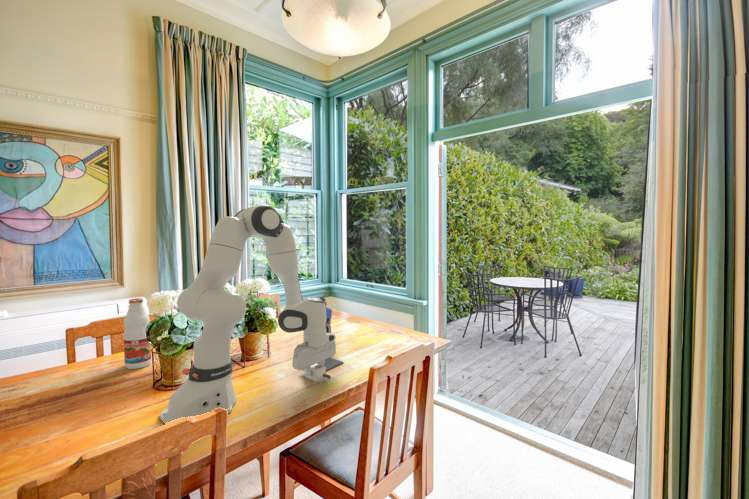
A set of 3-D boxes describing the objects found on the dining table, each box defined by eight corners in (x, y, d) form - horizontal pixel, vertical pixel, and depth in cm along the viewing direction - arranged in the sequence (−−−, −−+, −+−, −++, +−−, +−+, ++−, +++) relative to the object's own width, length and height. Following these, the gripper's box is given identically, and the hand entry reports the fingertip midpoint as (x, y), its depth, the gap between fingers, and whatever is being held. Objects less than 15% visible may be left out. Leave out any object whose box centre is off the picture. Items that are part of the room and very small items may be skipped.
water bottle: (333, 345, 178) (333, 295, 176) (329, 352, 169) (329, 300, 167) (314, 344, 179) (315, 295, 177) (309, 351, 170) (309, 299, 168)
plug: (333, 381, 138) (333, 369, 138) (325, 385, 135) (325, 372, 135) (305, 371, 147) (305, 359, 147) (298, 374, 144) (298, 362, 144)
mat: (320, 373, 145) (320, 372, 145) (296, 365, 153) (296, 363, 153) (343, 363, 156) (343, 361, 156) (320, 355, 165) (320, 354, 165)
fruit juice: (154, 359, 157) (152, 296, 155) (147, 368, 148) (145, 301, 146) (129, 361, 154) (126, 297, 152) (121, 370, 145) (118, 302, 143)
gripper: (300, 348, 130) (300, 385, 131) (338, 334, 146) (338, 367, 147) (288, 344, 134) (288, 380, 135) (327, 331, 150) (327, 363, 151)
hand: (314, 373), depth 141 cm, fingers closed on plug, 4 cm apart
